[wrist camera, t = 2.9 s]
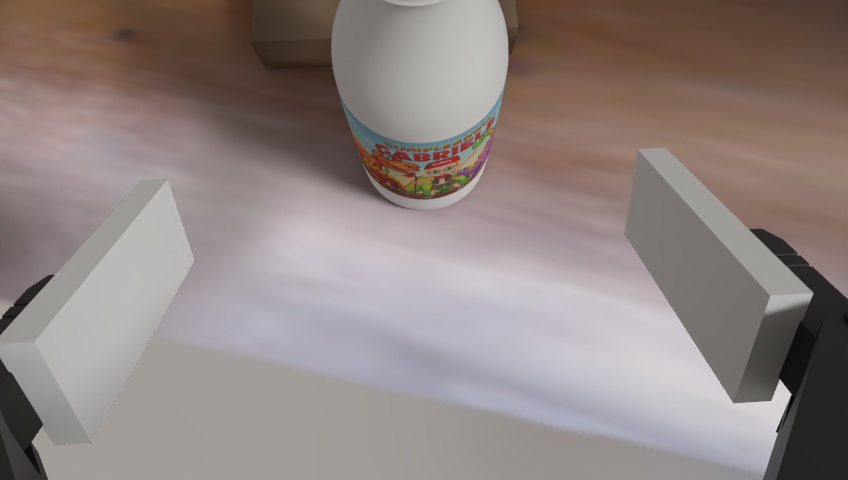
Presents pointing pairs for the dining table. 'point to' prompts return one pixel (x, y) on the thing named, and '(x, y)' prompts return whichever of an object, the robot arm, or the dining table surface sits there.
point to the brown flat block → (314, 31)
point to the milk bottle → (421, 92)
